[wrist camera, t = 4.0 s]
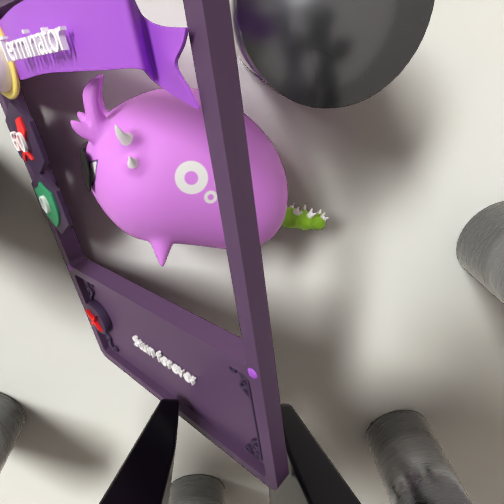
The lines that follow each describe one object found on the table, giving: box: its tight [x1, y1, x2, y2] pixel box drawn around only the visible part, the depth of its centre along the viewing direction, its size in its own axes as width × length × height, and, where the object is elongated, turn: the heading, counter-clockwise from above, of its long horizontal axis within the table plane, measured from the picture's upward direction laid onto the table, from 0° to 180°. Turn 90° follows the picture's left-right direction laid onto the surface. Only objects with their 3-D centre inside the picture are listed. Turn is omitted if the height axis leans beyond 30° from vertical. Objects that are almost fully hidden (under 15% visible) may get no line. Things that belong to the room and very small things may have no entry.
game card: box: [0, 0, 329, 490], centre depth 9 cm, size 7×5×9 cm
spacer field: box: [0, 0, 504, 504], centre depth 10 cm, size 17×19×4 cm
